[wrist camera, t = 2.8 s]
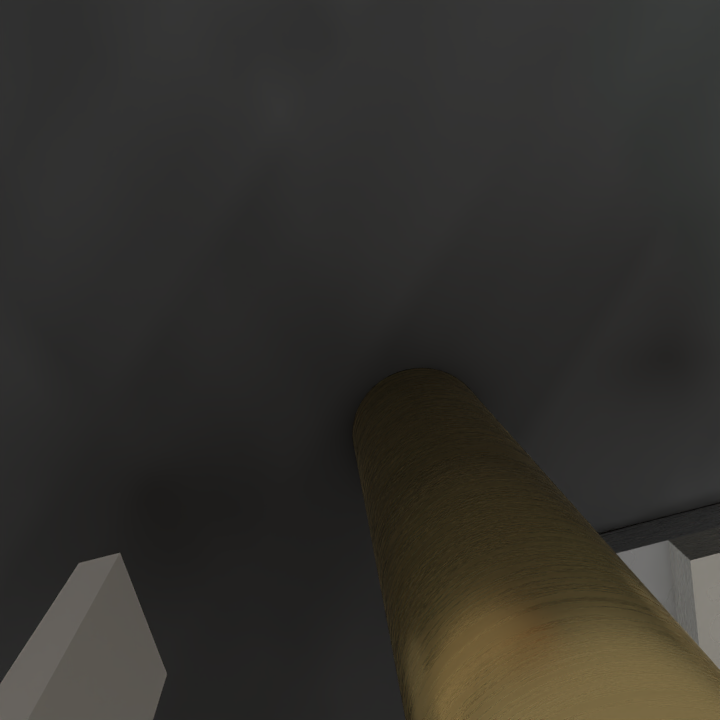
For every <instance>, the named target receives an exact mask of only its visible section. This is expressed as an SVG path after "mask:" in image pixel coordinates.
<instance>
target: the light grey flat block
mask: <svg viewBox="0 0 720 720" xmlns="http://www.w3.org/2000/svg"><path fill="white" fill-rule="evenodd" d="M668 543H669V552H670V561H671V570H672V579H673V588H674V596H675V605H676V614H677V622H678V623H679V624H680V625H681V627H682V628H683V629H684V630H685V631H686V632H687V633H688V634H689V636H690V637H691V638H692V639H693V640H694V641H695V642H696V643H697V645H698V646H699V647H700V648H701V649H702V650H703V651H704V652H705V653H706V655H707V656H708V657H709V658H710V659H711V660H712V661H713V662H714V664H715V665H716V666H717V667H718V668H719V669H720V527H717V528H713V529H709V530H705V531H701V532H697V533H694V534H690V535H686V536H682V537H678V538H674V539H670V540H668Z"/></svg>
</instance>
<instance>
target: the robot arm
mask: <svg viewBox="0 0 720 720" xmlns="http://www.w3.org/2000/svg"><path fill="white" fill-rule="evenodd" d="M166 676H167V673H166V670H165V668H164V665H163V662H162V660H161V657H160V655H159V652H158V649H157V647H156V644H155V642H154V639H153V637H152V634H151V631H150V629H149V626H148V624H147V621H146V618H145V616H144V613H143V611H142V608H141V606H140V603H139V600H138V598H137V595H136V593H135V590H134V587H133V585H132V582H131V580H130V577H129V575H128V572H127V569H126V567H125V564H124V562H123V559H122V556H121V554H120V553H117V554H113V555H109V556H105V557H101V558H97V559H93V560H89V561H85V562H81V563H79V564H78V565H77V567H76V568H75V570H74V571H73V573H72V574H71V576H70V578H69V579H68V581H67V582H66V584H65V585H64V587H63V588H62V590H61V591H60V593H59V594H58V596H57V597H56V599H55V601H54V602H53V604H52V605H51V607H50V608H49V610H48V611H47V613H46V614H45V616H44V617H43V619H42V620H41V622H40V624H39V625H38V627H37V628H36V630H35V631H34V633H33V634H32V636H31V637H30V639H29V640H28V642H27V643H26V645H25V647H24V648H23V650H22V651H21V653H20V654H19V656H18V657H17V659H16V660H15V662H14V663H13V665H12V666H11V668H10V670H9V671H8V673H7V674H6V676H5V677H4V679H3V680H2V682H1V683H0V720H153V718H154V715H155V712H156V708H157V705H158V702H159V699H160V695H161V692H162V689H163V686H164V682H165V679H166Z"/></svg>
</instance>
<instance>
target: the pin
mask: <svg viewBox="0 0 720 720" xmlns="http://www.w3.org/2000/svg"><path fill="white" fill-rule="evenodd" d="M353 443H354V449H355V454H356V459H357V465H358V470H359V475H360V481H361V486H362V491H363V496H364V502H365V507H366V512H367V518H368V523H369V528H370V533H371V539H372V544H373V549H374V555H375V560H376V565H377V570H378V576H379V581H380V586H381V592H382V597H383V602H384V607H385V613H386V618H387V623H388V629H389V634H390V639H391V644H392V650H393V655H394V660H395V666H396V671H397V676H398V681H399V687H400V692H401V697H402V703H403V708H404V713H405V718H406V720H720V669H719V668H718V667H717V666H716V665H715V664H714V662H713V661H712V660H711V659H710V658H709V657H708V656H707V655H706V653H705V652H704V651H703V650H702V649H701V648H700V647H699V646H698V645H697V643H696V642H695V641H694V640H693V639H692V638H691V637H690V636H689V634H688V633H687V632H686V631H685V630H684V629H683V628H682V627H681V625H680V624H679V623H678V622H677V621H676V620H675V619H674V618H673V617H672V615H671V614H670V613H669V612H668V611H667V610H666V609H665V608H664V606H663V605H662V604H661V603H660V602H659V601H658V600H657V599H656V597H655V596H654V595H653V594H652V593H651V592H650V591H649V590H648V589H647V587H646V586H645V585H644V584H643V583H642V582H641V581H640V580H639V578H638V577H637V576H636V575H635V574H634V573H633V572H632V571H631V569H630V568H629V567H628V566H627V565H626V564H625V563H624V562H623V560H622V559H621V558H620V557H619V556H618V555H617V554H616V553H615V552H614V550H613V549H612V548H611V547H610V546H609V545H608V544H607V543H606V541H605V540H604V539H603V538H602V537H601V536H600V535H599V534H598V532H597V531H596V530H595V529H594V528H593V527H592V526H591V525H590V524H589V522H588V521H587V520H586V519H585V518H584V517H583V516H582V515H581V513H580V512H579V511H578V510H577V509H576V508H575V507H574V506H573V504H572V503H571V502H570V501H569V500H568V499H567V498H566V497H565V496H564V494H563V493H562V492H561V491H560V490H559V489H558V488H557V487H556V485H555V484H554V483H553V482H552V481H551V480H550V479H549V478H548V476H547V475H546V474H545V473H544V472H543V471H542V470H541V469H540V467H539V466H538V465H537V464H536V463H535V462H534V461H533V460H532V459H531V457H530V456H529V455H528V454H527V453H526V452H525V451H524V450H523V448H522V447H521V446H520V445H519V444H518V443H517V442H516V441H515V439H514V438H513V437H512V436H511V435H510V434H509V433H508V432H507V431H506V429H505V428H504V427H503V426H502V425H501V424H500V423H499V422H498V420H497V419H496V418H495V417H494V416H493V415H492V414H491V413H490V411H489V410H488V409H487V408H486V407H485V406H484V405H483V404H482V402H481V401H480V400H479V399H478V398H477V397H476V396H475V395H474V394H473V392H472V391H471V390H470V389H469V388H468V387H467V386H466V385H465V384H464V383H463V382H462V381H460V380H459V379H457V378H456V377H454V376H452V375H450V374H448V373H445V372H443V371H440V370H435V369H428V368H415V369H408V370H404V371H401V372H397V373H395V374H393V375H391V376H388V377H387V378H385V379H384V380H382V381H380V382H379V383H378V384H377V385H376V386H374V387H373V388H372V389H371V390H370V391H369V392H368V394H367V395H366V396H365V398H364V399H363V400H362V402H361V404H360V406H359V408H358V410H357V413H356V416H355V420H354V424H353Z"/></svg>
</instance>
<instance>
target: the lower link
mask: <svg viewBox="0 0 720 720" xmlns="http://www.w3.org/2000/svg"><path fill="white" fill-rule="evenodd" d="M717 527H720V503H719V504H716V505H712V506H708V507H704V508H700V509H696V510H692V511H688V512H685V513H681V514H677V515H673V516H669V517H665V518H661V519H657V520H654V521H650V522H646V523H642V524H638V525H634V526H630V527H626V528H623V529H619V530H615V531H611V532H607V533H603V534H599V535H600V536H601V537H602V538H603V539H604V540H605V541H606V543H607V544H608V545H609V546H610V547H611V548H612V549H613V550H614V552H615V553H616V554H617V555H618V556H619V557H620V558H621V559H622V560H623V562H624V563H625V564H626V565H627V566H628V567H629V568H630V569H631V571H632V572H633V573H634V574H635V575H636V576H637V577H638V578H639V580H640V581H641V582H642V583H643V584H644V585H645V586H646V587H647V589H648V590H649V591H650V592H651V593H652V594H653V595H654V596H655V597H656V599H657V600H658V601H659V602H660V603H661V604H662V605H663V606H664V608H665V609H666V610H667V611H668V612H669V613H670V614H671V615H672V617H673V618H674V619H675V620H676V621H677V614H676V605H675V596H674V588H673V579H672V570H671V561H670V552H669V543H668V540H670V539H674V538H678V537H682V536H686V535H690V534H694V533H697V532H701V531H705V530H709V529H713V528H717Z"/></svg>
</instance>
